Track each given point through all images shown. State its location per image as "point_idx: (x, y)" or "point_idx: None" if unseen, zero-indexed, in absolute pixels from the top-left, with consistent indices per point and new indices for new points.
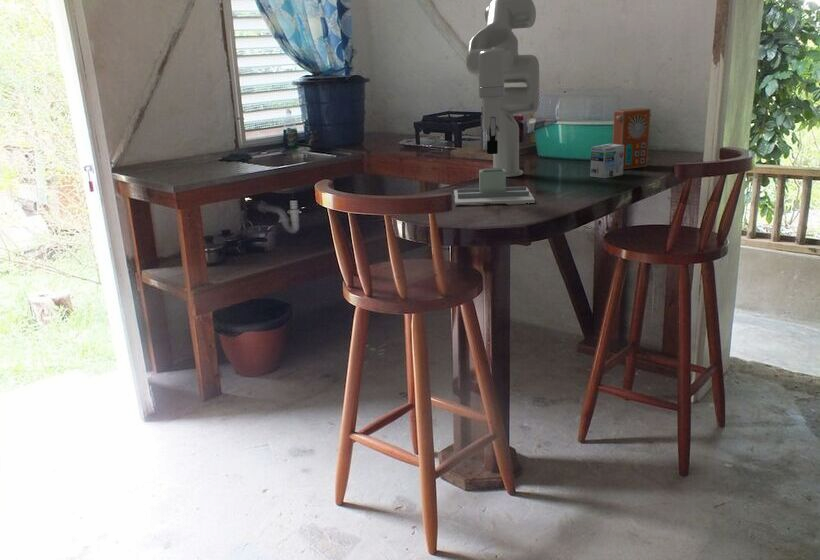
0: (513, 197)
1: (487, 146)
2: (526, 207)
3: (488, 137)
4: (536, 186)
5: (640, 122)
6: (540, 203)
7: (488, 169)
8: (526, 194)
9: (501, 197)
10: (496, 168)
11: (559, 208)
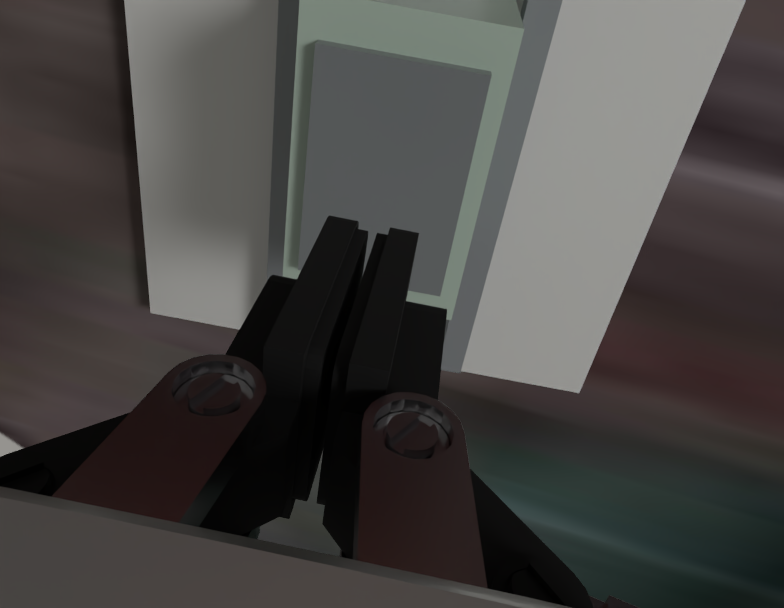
0: (245, 215)
1: (295, 282)
2: (51, 223)
3: (128, 422)
4: (695, 462)
5: None
6: (163, 327)
7: (382, 135)
8: None
9: (263, 132)
10: (422, 240)
11: (24, 366)
